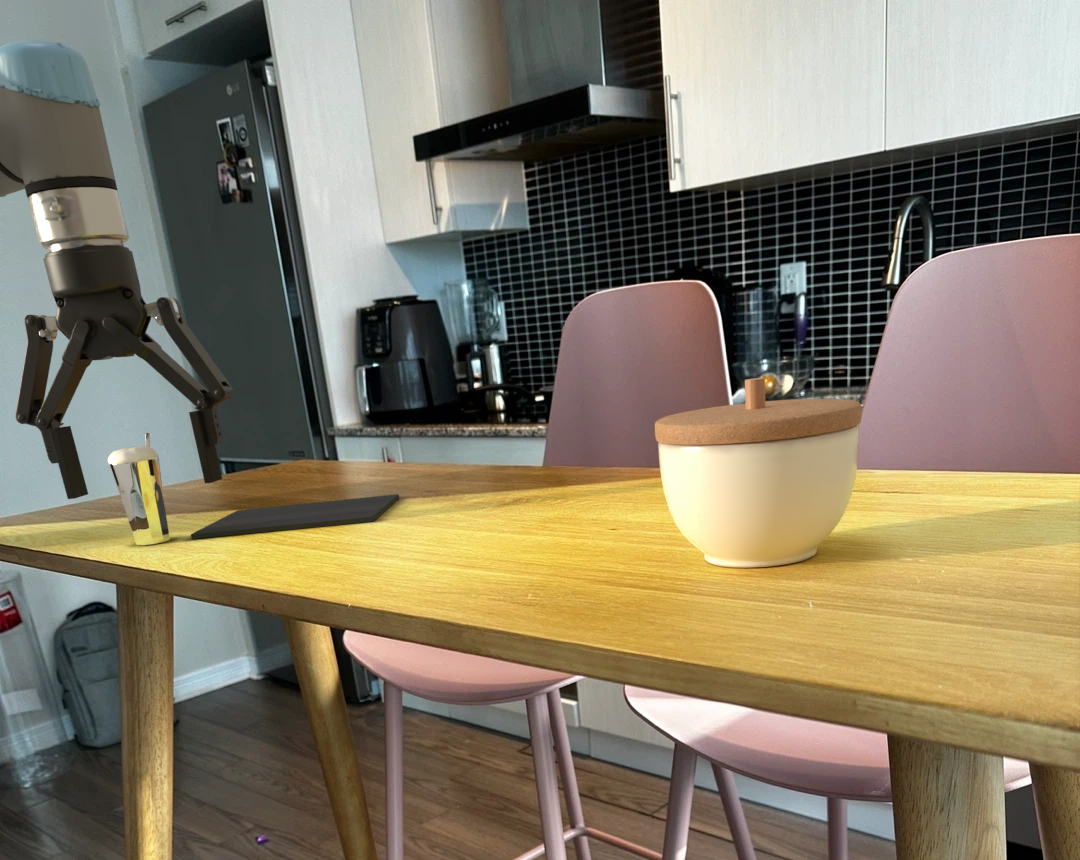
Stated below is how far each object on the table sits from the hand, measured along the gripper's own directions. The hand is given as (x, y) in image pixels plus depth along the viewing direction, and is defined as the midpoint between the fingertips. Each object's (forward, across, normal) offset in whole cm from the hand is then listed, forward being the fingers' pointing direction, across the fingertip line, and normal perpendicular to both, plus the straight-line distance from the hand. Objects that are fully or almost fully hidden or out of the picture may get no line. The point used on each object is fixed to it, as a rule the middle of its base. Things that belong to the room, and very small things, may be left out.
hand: (145, 489), depth 99 cm
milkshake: (+5, 0, 0) cm, 5 cm away
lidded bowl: (+6, +54, -31) cm, 62 cm away
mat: (+5, +13, +6) cm, 15 cm away
